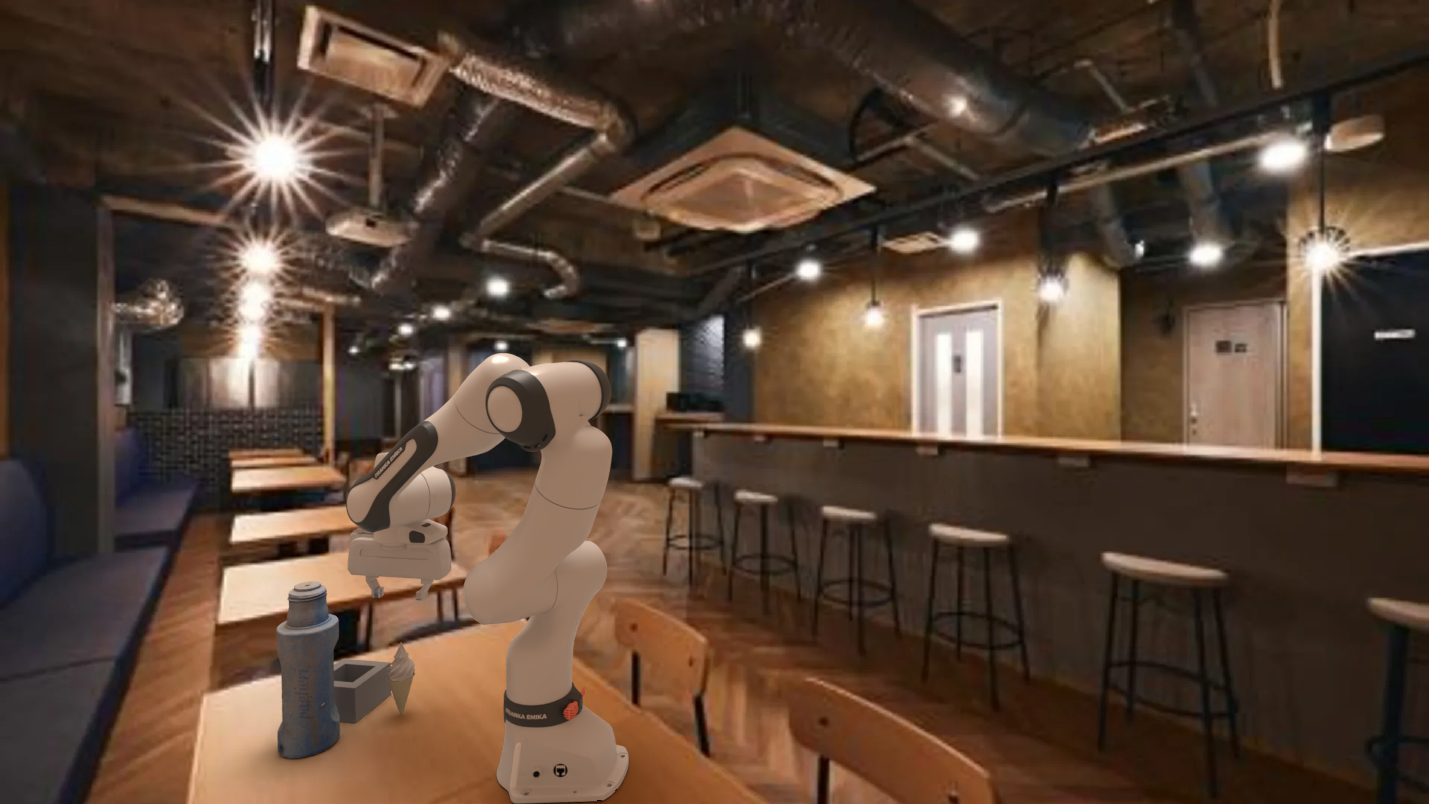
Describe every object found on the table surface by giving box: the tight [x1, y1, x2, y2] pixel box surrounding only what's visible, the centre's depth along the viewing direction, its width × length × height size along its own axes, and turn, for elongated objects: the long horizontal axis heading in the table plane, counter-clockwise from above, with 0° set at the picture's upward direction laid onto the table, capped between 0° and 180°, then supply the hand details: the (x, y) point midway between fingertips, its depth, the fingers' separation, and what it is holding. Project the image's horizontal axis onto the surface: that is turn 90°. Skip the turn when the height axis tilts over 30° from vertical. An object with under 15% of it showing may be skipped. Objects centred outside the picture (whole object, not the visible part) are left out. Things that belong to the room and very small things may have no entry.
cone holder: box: [334, 658, 392, 724], centre depth 131 cm, size 11×11×7 cm
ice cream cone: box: [387, 641, 416, 717], centre depth 127 cm, size 5×5×15 cm
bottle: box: [275, 580, 341, 759], centre depth 117 cm, size 10×10×30 cm
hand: (399, 598), depth 127 cm, fingers open, 8 cm apart
